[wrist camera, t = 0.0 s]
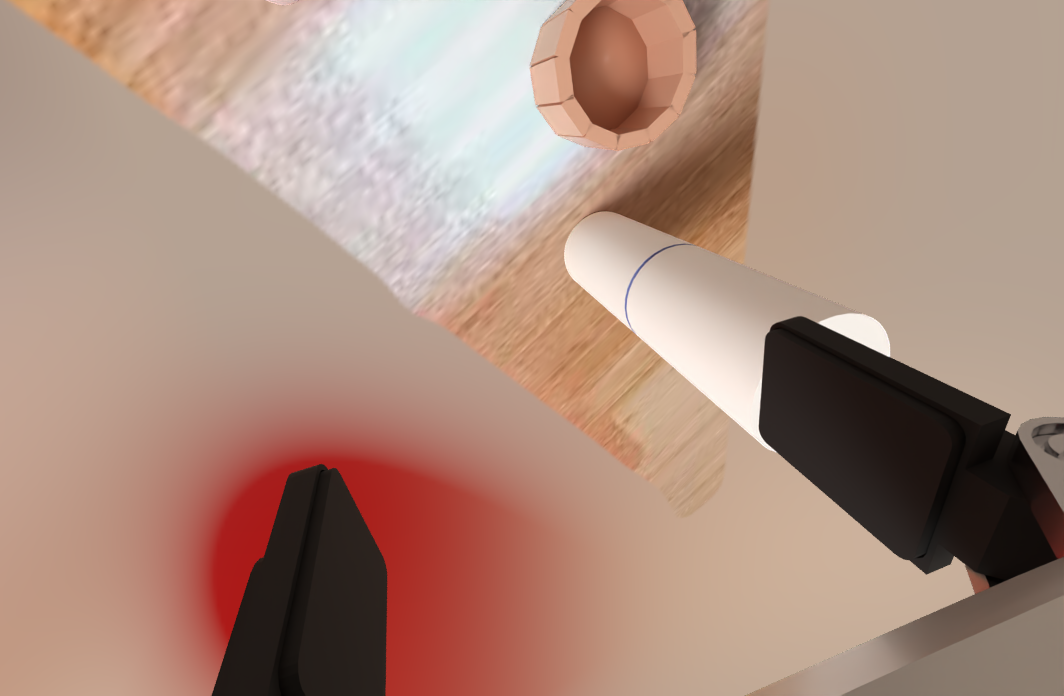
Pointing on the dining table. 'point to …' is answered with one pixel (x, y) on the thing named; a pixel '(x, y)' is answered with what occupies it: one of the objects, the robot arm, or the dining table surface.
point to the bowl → (614, 70)
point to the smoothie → (283, 2)
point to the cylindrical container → (699, 307)
